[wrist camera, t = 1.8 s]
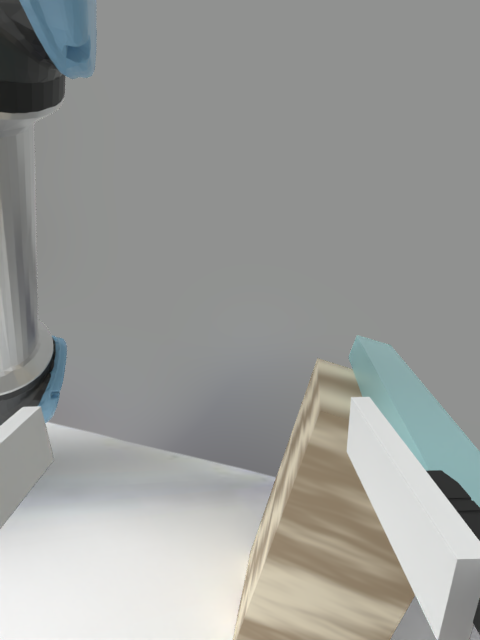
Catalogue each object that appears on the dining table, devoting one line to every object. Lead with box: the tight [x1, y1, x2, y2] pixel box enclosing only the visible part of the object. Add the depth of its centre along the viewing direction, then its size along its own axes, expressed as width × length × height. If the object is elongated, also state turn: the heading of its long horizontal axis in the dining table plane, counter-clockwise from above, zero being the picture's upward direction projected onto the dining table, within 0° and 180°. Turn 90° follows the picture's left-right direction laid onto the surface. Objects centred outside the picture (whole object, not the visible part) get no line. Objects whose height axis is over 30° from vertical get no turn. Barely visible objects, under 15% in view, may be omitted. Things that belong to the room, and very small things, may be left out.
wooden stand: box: [233, 359, 415, 640], centre depth 33 cm, size 12×12×30 cm
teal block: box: [349, 335, 480, 507], centre depth 25 cm, size 26×4×3 cm, turn 167°
